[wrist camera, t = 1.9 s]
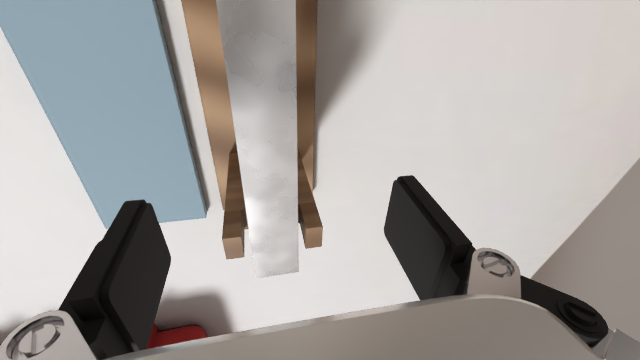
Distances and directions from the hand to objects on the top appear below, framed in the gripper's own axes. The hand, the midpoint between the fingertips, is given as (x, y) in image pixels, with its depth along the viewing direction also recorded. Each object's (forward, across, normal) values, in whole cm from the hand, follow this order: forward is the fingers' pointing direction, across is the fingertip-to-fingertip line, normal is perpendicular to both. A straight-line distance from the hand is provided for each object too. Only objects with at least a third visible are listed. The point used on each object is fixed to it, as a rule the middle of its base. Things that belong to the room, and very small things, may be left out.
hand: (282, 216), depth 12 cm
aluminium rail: (+9, 0, -1) cm, 9 cm away
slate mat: (+18, +12, -1) cm, 22 cm away
